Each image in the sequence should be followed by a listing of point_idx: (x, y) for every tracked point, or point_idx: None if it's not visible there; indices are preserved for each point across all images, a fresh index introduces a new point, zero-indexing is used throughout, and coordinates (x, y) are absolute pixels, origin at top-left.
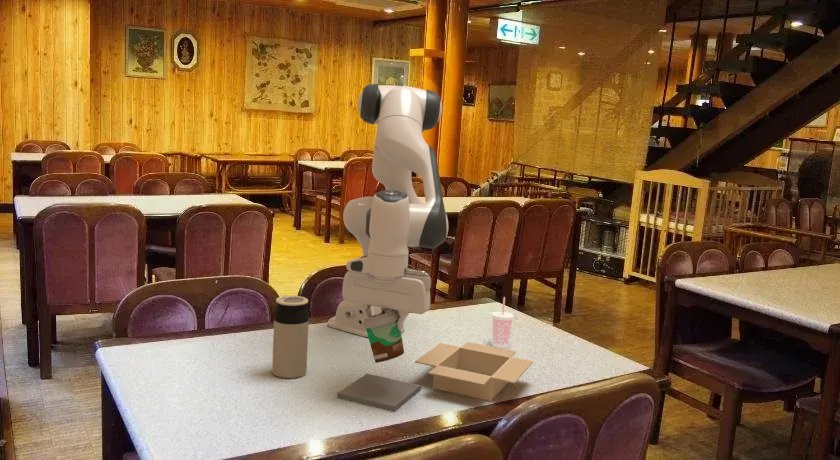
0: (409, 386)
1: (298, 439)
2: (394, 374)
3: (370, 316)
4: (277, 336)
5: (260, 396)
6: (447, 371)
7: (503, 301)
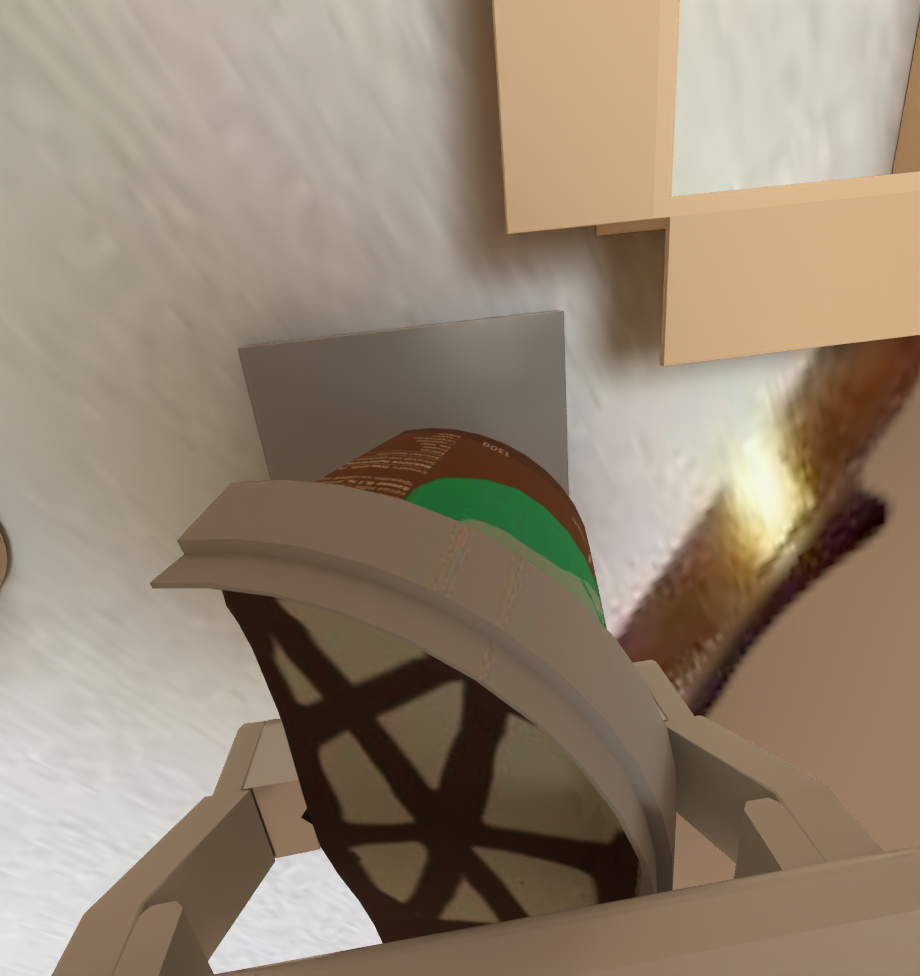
0: (521, 363)
1: None
2: (321, 179)
3: (275, 830)
4: None
5: (91, 763)
6: (759, 271)
7: None
